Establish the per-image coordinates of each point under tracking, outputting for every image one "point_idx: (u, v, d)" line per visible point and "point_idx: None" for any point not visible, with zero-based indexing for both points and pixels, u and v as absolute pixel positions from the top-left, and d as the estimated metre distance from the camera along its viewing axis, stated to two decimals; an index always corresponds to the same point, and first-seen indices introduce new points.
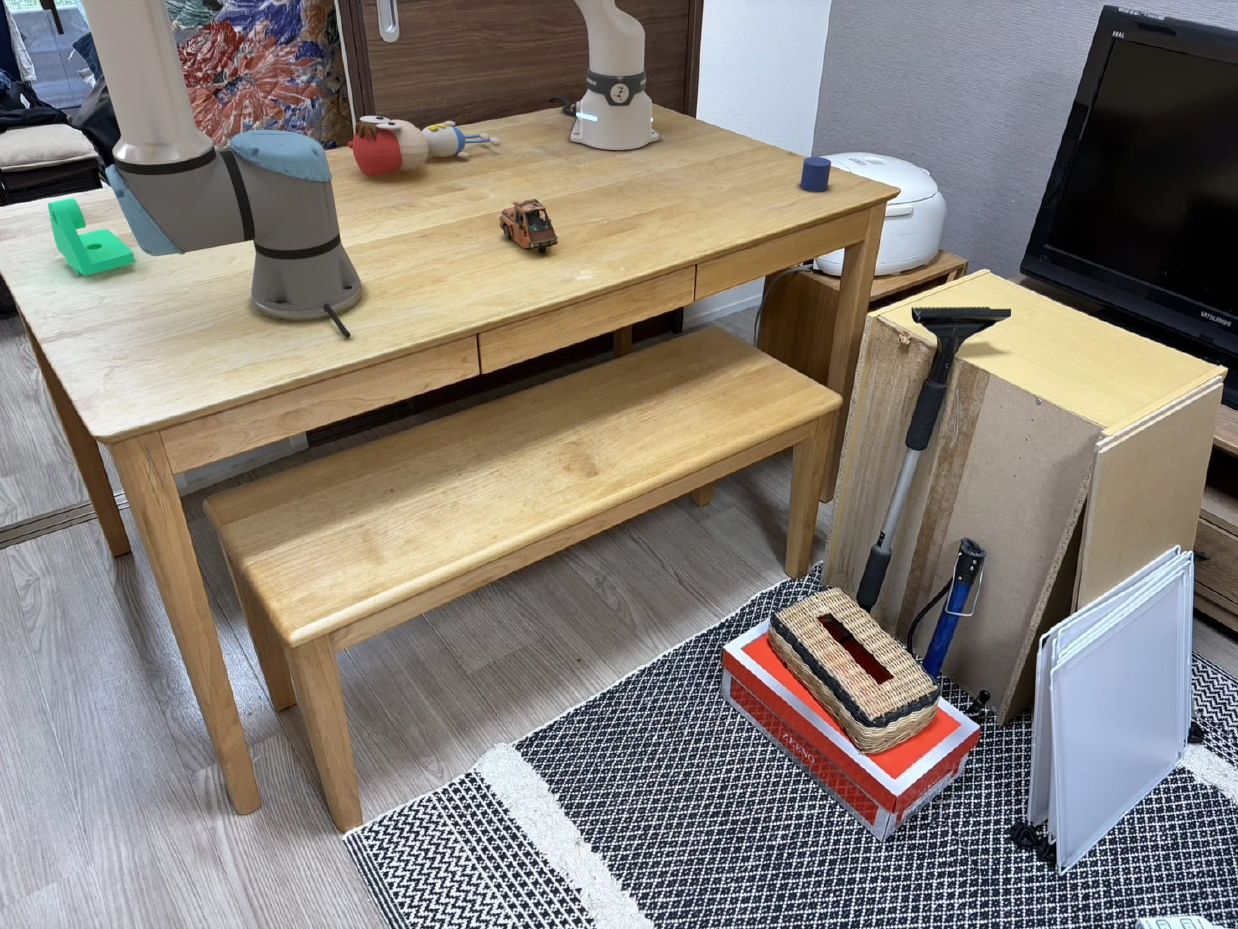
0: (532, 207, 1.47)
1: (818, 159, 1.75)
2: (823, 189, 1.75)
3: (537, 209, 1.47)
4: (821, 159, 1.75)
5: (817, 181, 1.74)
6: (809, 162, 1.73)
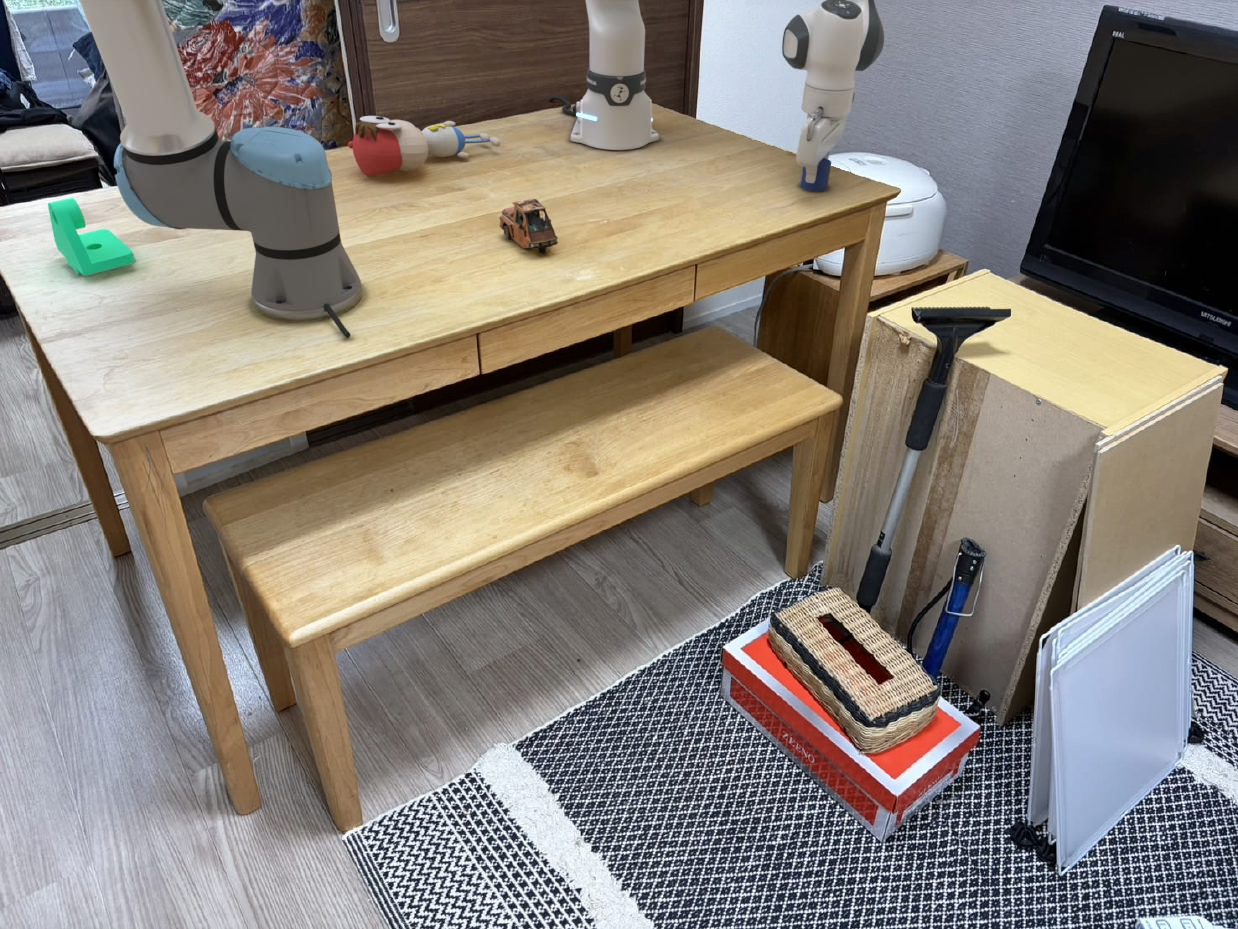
0: (532, 207, 1.47)
1: None
2: (823, 189, 1.75)
3: (537, 209, 1.47)
4: None
5: (817, 182, 1.74)
6: None
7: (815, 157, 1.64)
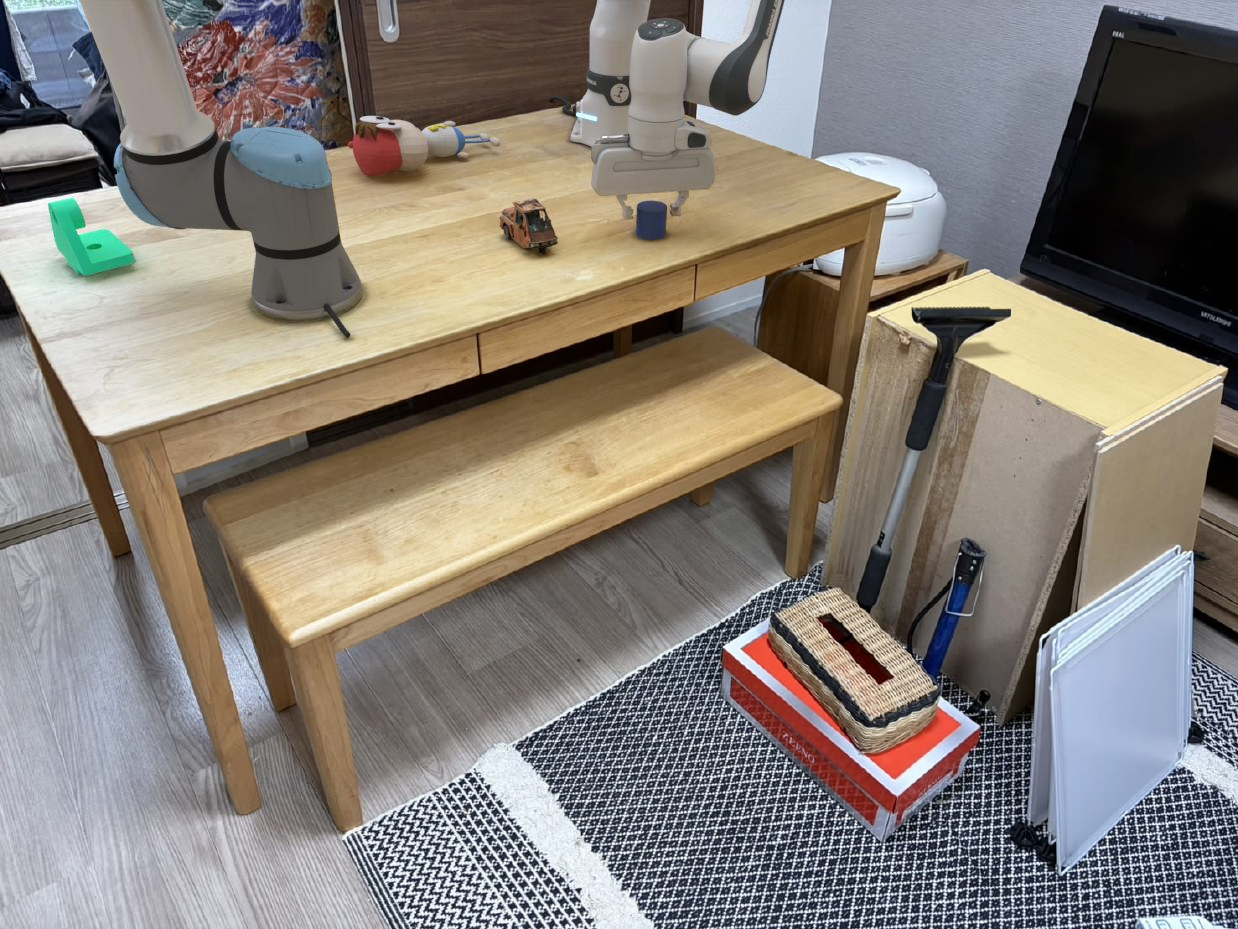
0: (532, 207, 1.47)
1: (658, 205, 1.54)
2: (647, 238, 1.55)
3: (537, 209, 1.47)
4: (660, 206, 1.54)
5: (639, 226, 1.54)
6: (642, 204, 1.54)
7: (597, 184, 1.48)
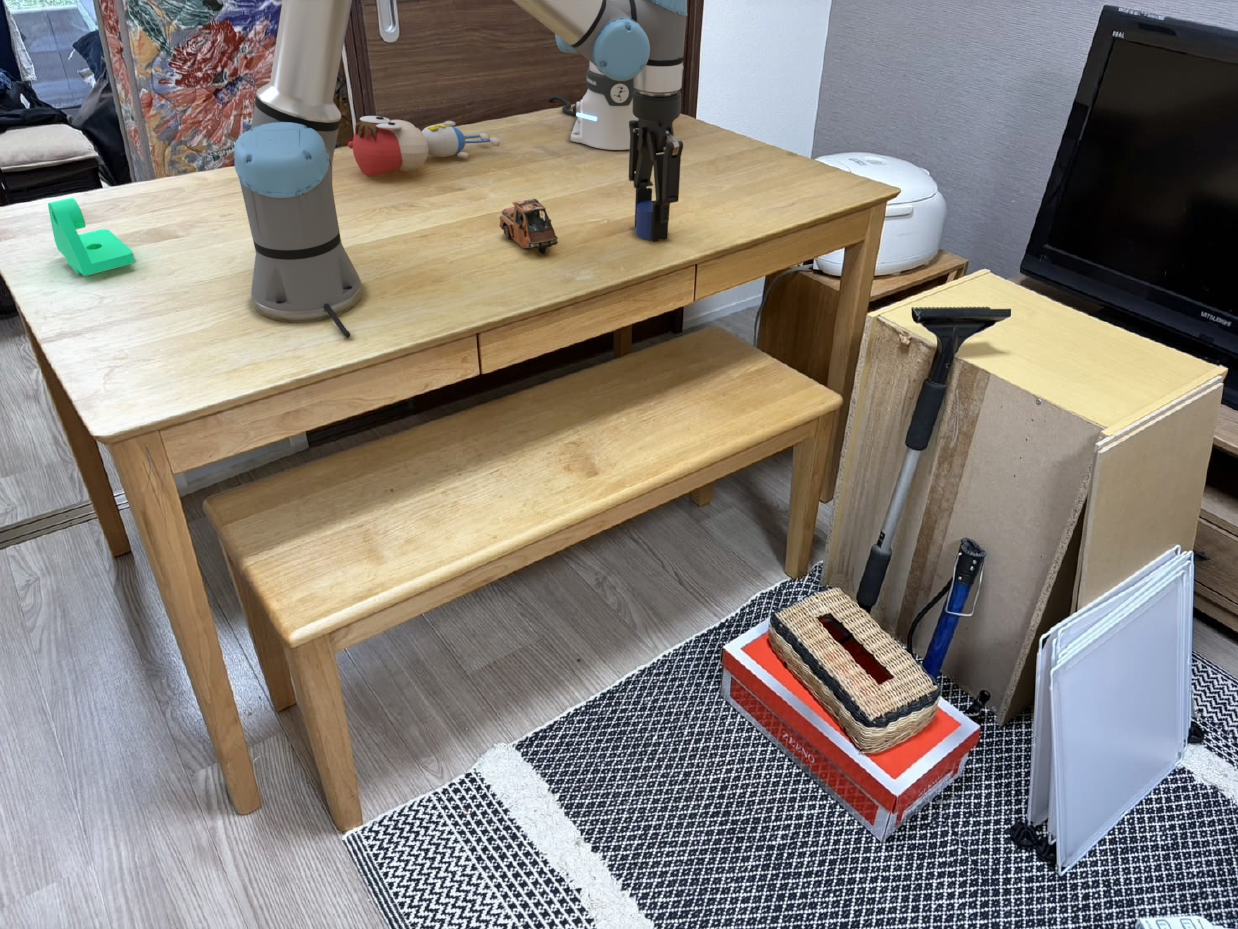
0: (532, 207, 1.47)
1: None
2: (647, 238, 1.55)
3: (537, 209, 1.47)
4: None
5: (639, 226, 1.54)
6: (642, 204, 1.54)
7: None
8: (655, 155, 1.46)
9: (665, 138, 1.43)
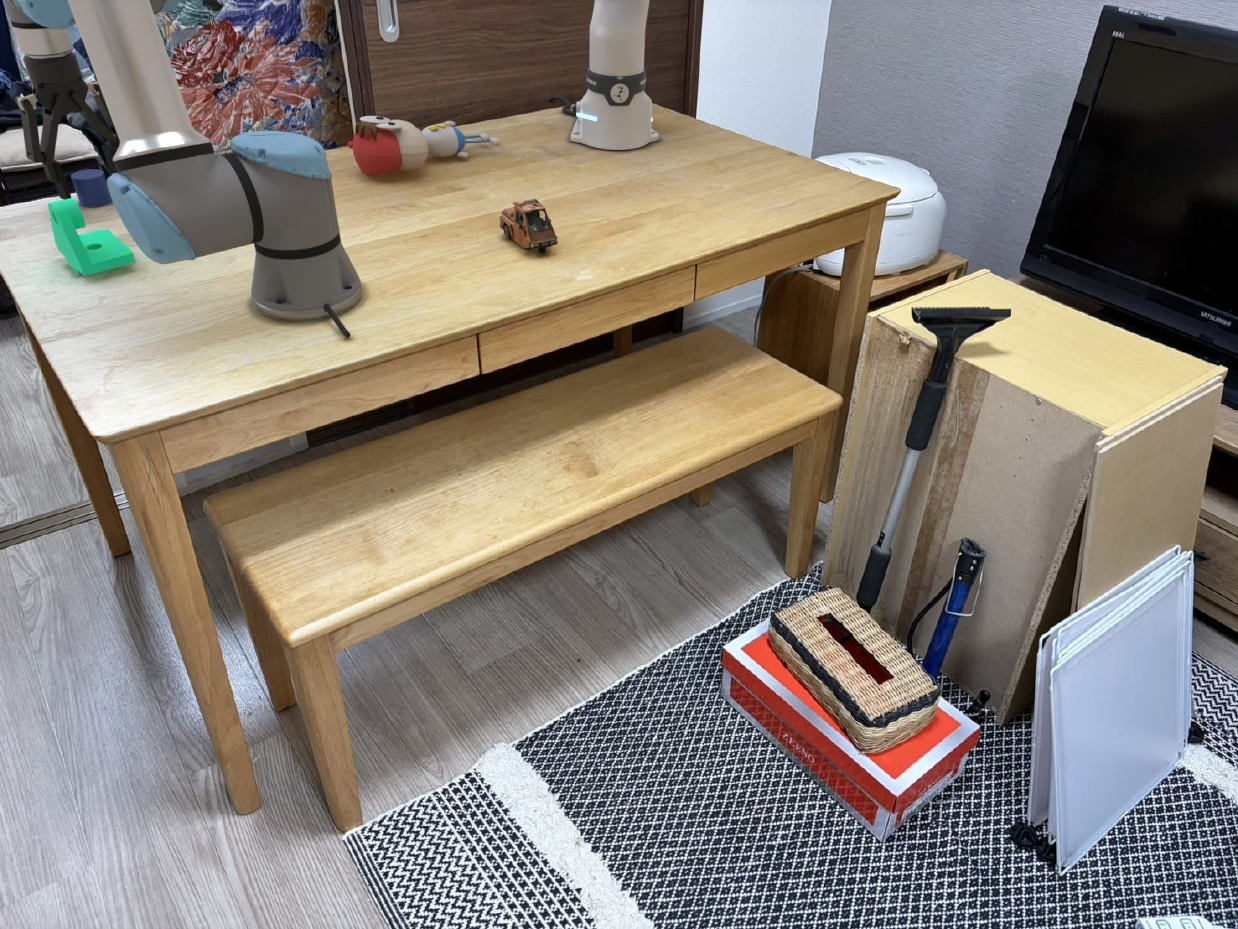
0: (532, 207, 1.47)
1: (84, 172, 1.60)
2: (111, 199, 1.62)
3: (537, 209, 1.47)
4: (87, 171, 1.60)
5: (103, 194, 1.60)
6: (82, 178, 1.57)
7: None
8: (89, 107, 1.54)
9: (88, 87, 1.53)
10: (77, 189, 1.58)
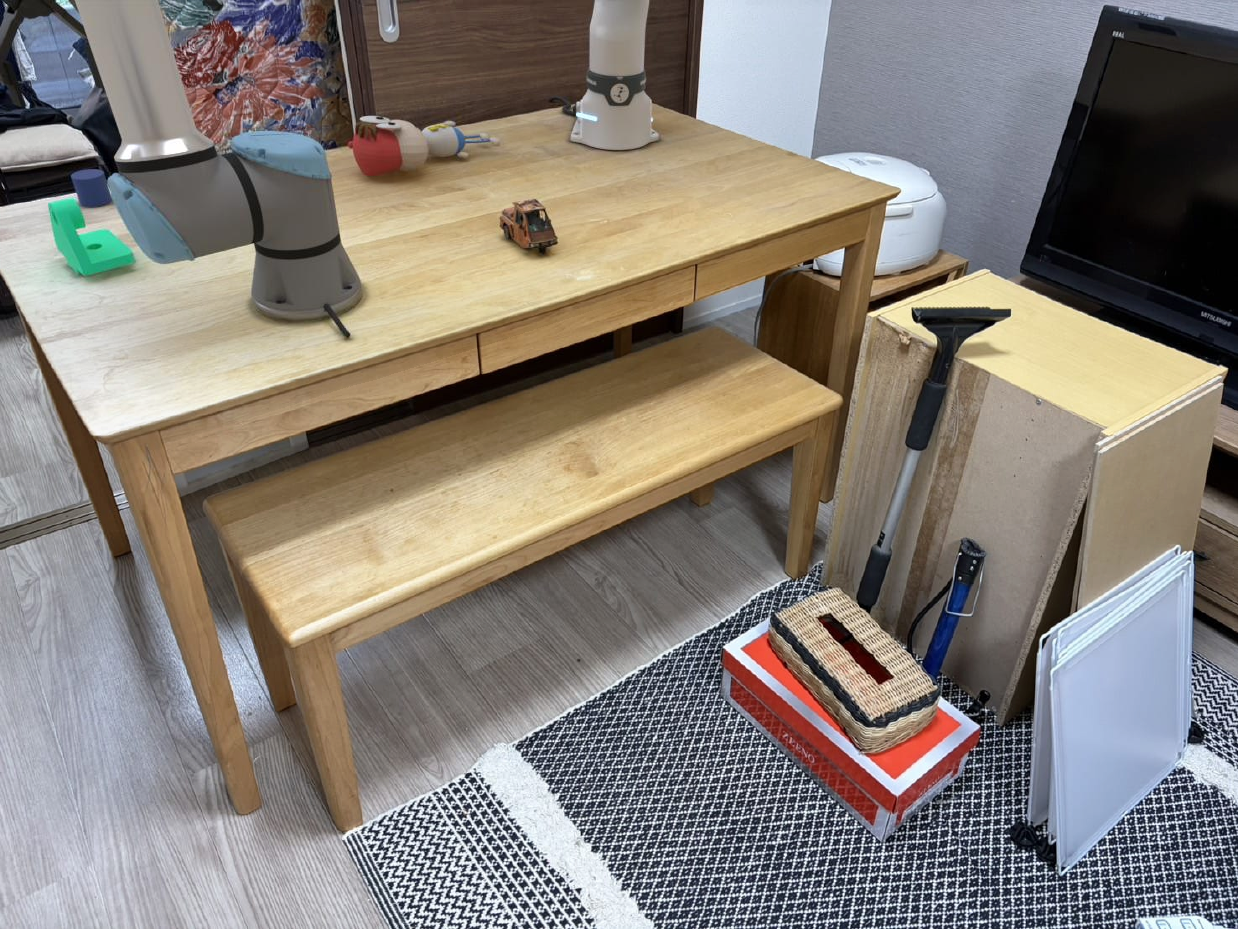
0: (532, 207, 1.47)
1: (84, 172, 1.60)
2: (111, 199, 1.62)
3: (537, 209, 1.47)
4: (87, 171, 1.60)
5: (103, 194, 1.60)
6: (82, 178, 1.57)
7: None
8: None
9: None
10: (77, 189, 1.58)
